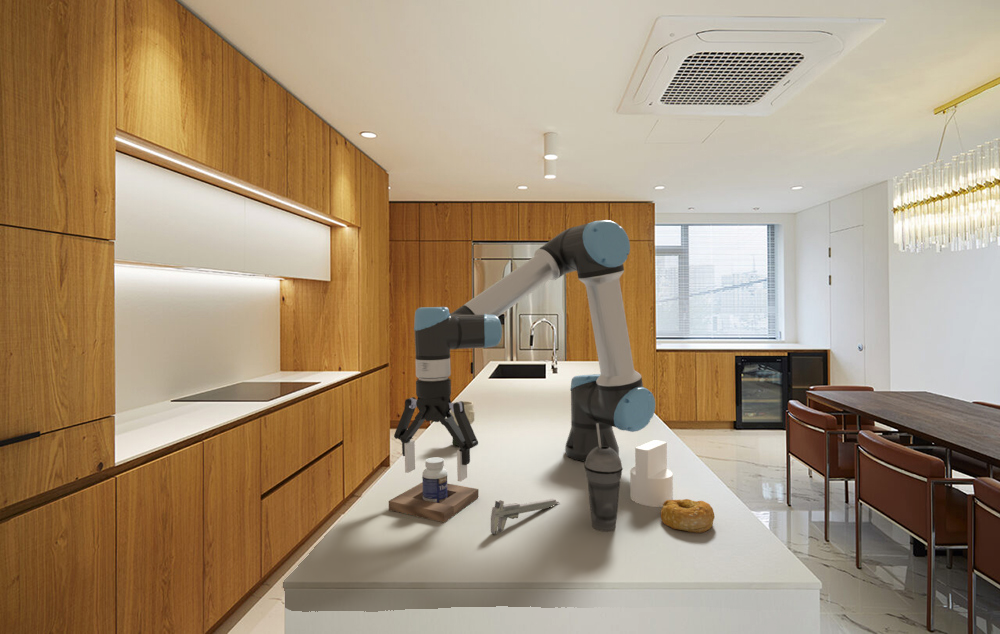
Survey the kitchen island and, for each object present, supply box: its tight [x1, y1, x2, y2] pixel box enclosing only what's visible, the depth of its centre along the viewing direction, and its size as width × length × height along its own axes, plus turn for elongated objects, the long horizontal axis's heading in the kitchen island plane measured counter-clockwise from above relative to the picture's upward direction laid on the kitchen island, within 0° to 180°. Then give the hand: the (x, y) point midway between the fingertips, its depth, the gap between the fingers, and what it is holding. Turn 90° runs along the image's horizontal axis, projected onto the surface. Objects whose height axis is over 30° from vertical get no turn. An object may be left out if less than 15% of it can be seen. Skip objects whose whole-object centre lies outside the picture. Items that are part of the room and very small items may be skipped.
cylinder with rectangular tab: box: [629, 439, 674, 508], centre depth 110 cm, size 9×9×12 cm
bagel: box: [660, 498, 715, 534], centre depth 98 cm, size 10×11×5 cm
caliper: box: [490, 498, 560, 535], centre depth 101 cm, size 20×1×6 cm, turn 137°
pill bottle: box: [421, 456, 448, 503], centre depth 108 cm, size 5×5×10 cm
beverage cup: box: [584, 423, 624, 532], centre depth 97 cm, size 7×7×20 cm
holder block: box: [388, 481, 479, 523], centre depth 109 cm, size 14×14×2 cm
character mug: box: [450, 400, 475, 446], centre depth 154 cm, size 11×7×13 cm, turn 44°
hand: (435, 475), depth 109 cm, fingers open, 13 cm apart
